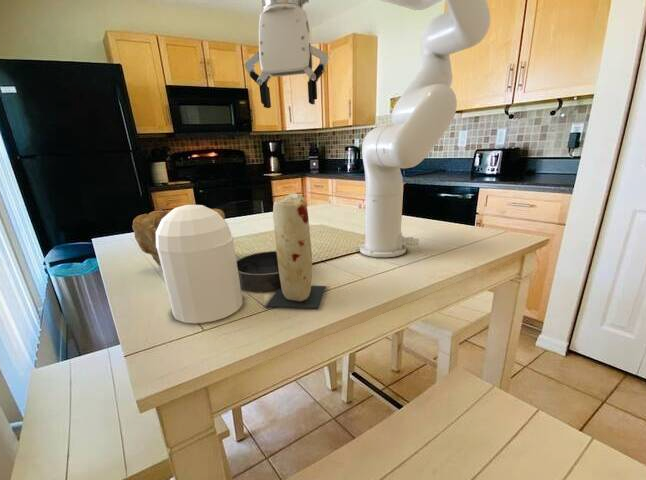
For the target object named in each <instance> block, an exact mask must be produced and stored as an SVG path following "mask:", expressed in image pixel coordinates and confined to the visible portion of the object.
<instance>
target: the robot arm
mask: <svg viewBox="0 0 646 480" xmlns="http://www.w3.org/2000/svg"><path fill="white" fill-rule="evenodd" d="M380 1H381V2H385V3H388V4H393V5H395V6H399V7H403V8H406V9H410V10H414V11H423V10H427V9H428V8H430V7H432V6H435V5H436V4H438V3H440V2H442V1H443V0H380ZM308 3H310V0H261V7H262V8H261V9H262V12H261V13H259V20H258V21H259V22H258V51H257V52H256V53H255V54H254V55H252V56H251V57H250V58H249V59H247V60H246V61H245V62H244V63H243V64H244V68H245V69H246V71H247V73H248V75H249V77H250V78H251V79H252V80H253V81H254V82H255V83H256V85H258V86H259V94H260V102H261V103H260V104H262V105H263V108H264V109H265V108H266V109H271V108H272V102H271V90H270V87H269V86H268V84H269V82H270V80H271V79H272V77H274V78H275V77H276V78H277V77H287V76H296V75H305V74H306V76H307V77H308V81H307V94H308V95H307V97H308V103H309V104H310V105H315V104H316V100H318V86H317V85H318V84H317V82H318V81H319V79H320V77H321V76H322V75H323V74H324V72H325V70H326V67H327V65H328V63H329V60H330V56H329V55H330V54H328V52H326V51H323V50H321V49H319V48H317V47H315V46H313V45H312V41H311V39H312V38H311V32H310V25H309V20H308V15H307V12H306V11H305V10H304V8H303V7H304V5H306V4H308ZM445 4H446V5H447V8H448V10H447V11H445V12H443V13H441V14H439V15H437V16H435V17H433V18H432V19H431V20H430V21H429V22H428V23H427V24H426V25H425V27H424V28H423V29H422V33H421V37H420V43H419V47H420V55H421V67H420V69H419V72H418V73H417V74H416V76H415V77H414V79H413V80H412V82H411V83H410V84H409V85H408V87H407V88H406V89H405V91H404V92H403V93H402V95H400V97H399V98H398V100H397V101H396V103H395V104H394V106H393V108H392V111H391V123H392V124H386V125H380V126H377V127H375V128H373V129H371V130H370V131H369V132H368V133H367V134H366V135H365V137H364V138H363V141H362V145H361V159H362V163H363V169H364V170H363V171H364V180H365V181H364V182H365V194H364V197H365V198H364V199H365V200H364V201H365V202H364V204H365V207H364V208H365V209H364V210H365V211H364V215H365V216H364V218H365V219H364V229H365V231H364V243H362V244H361V245H360V246H359V252H360V254H362V255H364V256H367V257H370V258H371V257H373V258H393V257H395V258H396V257H400V256H402V255H404V254H405V253H406V252H407V246H412V247H414V246H415V247H417V246H419V243H420V242H419V241H420V240H419V238H418V237H416V238H414V237H413V236H408V237H407V236H406V237H405V236H404V235H403V233H402V219H403V218H402V217H403V196H404V195H403V194H404V181H403V175H402V170H401V169H410V168H414V167H416V166H418V165H419V164H420V163H422V162H423V161H424V160H425V158H426V157H427V156H428V155H429V154H430V152H431V151H432V150H433V148H434V147H435V146H436V145H437V144H438V142H439V141H440V139H441V138H442V136H443V135H444V134H445V133H446V131H447V130H448V128H449V127H450V126H451V124H452V122H453V120H454V118H455V115H456V112H457V105H458V101H457V95H456V93H455V91H454V90H453V89H452V87H451V86H452V83H453V71H452V64H451V58H450V57H451V56H450V55H452V54H455V53H459V52H461V51H464V50H468V49H470V48H473V47H475V46H477V45H478V44H480V43H481V42H482V41H483V40H484V39H485V37H486V36H487V34H488V31H489V29H490V26H491V25H490V24H491V12H490V8H489V5H488V2H487V0H445ZM313 56H314V57H316V58H318V59H319V63H318V65H317V66H316V68H315V69H314V70H313V67H314V66H313V65H314V63H313V61H314V60H313ZM258 64H259V65H260V66H259V67H260V69H261V72H260V74H258V73H257V71H256V69H255V67H256V66H257V65H258Z"/></svg>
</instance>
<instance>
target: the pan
mask: <svg viewBox="0 0 646 480" xmlns="http://www.w3.org/2000/svg"><path fill="white" fill-rule="evenodd" d="M236 261H237V268H238V274H239V281H240V287H241V291H245V292H253V293H270V292H271V293H272V292H276V291H277V290H278V289H280V288H281V282H280V276H279V268H278V260H277V253H276V250H270V251H261V252H255V253H251V254H248V255H245V256H242V257H240V258H238V259H236Z"/></svg>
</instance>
